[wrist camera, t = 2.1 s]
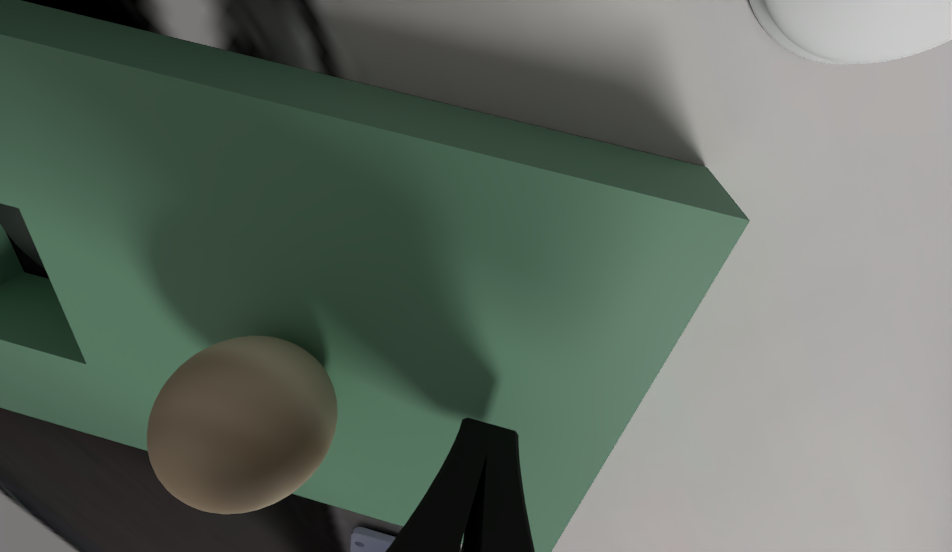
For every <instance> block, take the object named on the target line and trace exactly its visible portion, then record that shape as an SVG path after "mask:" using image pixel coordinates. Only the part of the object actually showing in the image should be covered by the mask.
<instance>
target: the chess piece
mask: <svg viewBox="0 0 952 552" xmlns="http://www.w3.org/2000/svg"><path fill="white" fill-rule="evenodd" d="M749 2H750V5H751V7H752V10H753V12H754V14H755V16H756V18H757V20H758V21H759V23H760V24H761V26H762V27H763V29H764V30H765V31H766V32H767V33H768V35H769V36H770V37H771V38H772V39H773V40H775V41H776V42H777V43H778V44H779V45H781V46H782V47H783V48H785V49H787V50H788V51H790V52H792V53H794V54H796V55H798V56H800V57H803V58H806V59H809V60H812V61H816V62H821V63H828V64H860V63H876V62H884V61H890V60H895V59H900V58H904V57H907V56H911V55H914V54H917V53H920V52H923V51H926V50H929V49H931V48H934V47H936V46H939V45H941V44H943V43H945V42H948V41H950V40H952V0H749Z"/></svg>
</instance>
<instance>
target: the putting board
mask: <svg viewBox="0 0 952 552" xmlns="http://www.w3.org/2000/svg"><path fill="white" fill-rule="evenodd" d="M749 221H750V220H749V219H748V218H747V216H746V215H745V214H744V213H743V212H742V210H741V209H740V208H739V207H738V205H737V204H736V203H735V202H734V200H733V199H732V198H731V197H730V195H729V194H728V193H727V192H726V190H725V189H724V188H723V187H722V185H721V184H720V183H719V182H718V180H717V179H716V178H715V177H714V175H713V174H712V173H711V172H710V171H709V169H708V168H707V167H703V166H699V165H695V164H691V163H687V162H683V161H678V160H674V159H670V158H666V157H662V156H658V155H654V154H650V153H646V152H641V151H637V150H633V149H629V148H625V147H621V146H617V145H613V144H609V143H605V142H600V141H596V140H592V139H588V138H584V137H580V136H576V135H572V134H568V133H563V132H559V131H555V130H551V129H547V128H543V127H539V126H535V125H531V124H527V123H522V122H518V121H514V120H510V119H506V118H502V117H498V116H494V115H490V114H485V113H481V112H477V111H473V110H469V109H465V108H461V107H457V106H453V105H449V104H444V103H440V102H436V101H432V100H428V99H424V98H420V97H416V96H412V95H407V94H403V93H399V92H395V91H391V90H387V89H383V88H379V87H375V86H370V85H366V84H362V83H358V82H354V81H350V80H346V79H342V78H338V77H334V76H329V75H325V74H321V73H317V72H313V71H309V70H305V69H301V68H297V67H292V66H288V65H284V64H280V63H276V62H272V61H268V60H264V59H260V58H256V57H251V56H247V55H243V54H239V53H235V52H231V51H227V50H223V49H219V48H214V47H210V46H206V45H202V44H198V43H194V42H190V41H186V40H182V39H178V38H173V37H169V36H165V35H161V34H157V33H153V32H149V31H145V30H141V29H136V28H132V27H128V26H124V25H120V24H116V23H112V22H108V21H104V20H99V19H95V18H91V17H87V16H83V15H79V14H75V13H71V12H67V11H63V10H58V9H54V8H50V7H46V6H42V5H38V4H34V3H30V2H26V1H21V0H0V407H1V408H4V409H7V410H11V411H14V412H18V413H21V414H24V415H28V416H31V417H34V418H38V419H41V420H45V421H48V422H51V423H55V424H58V425H62V426H65V427H68V428H72V429H75V430H78V431H82V432H85V433H89V434H92V435H95V436H99V437H102V438H105V439H109V440H112V441H116V442H119V443H122V444H126V445H129V446H132V447H136V448H139V449H143V450H146V451H148V450H147V428H148V421H149V416H150V413H151V410H152V407H153V404H154V402H155V400H156V398H157V396H158V394H159V392H160V390H161V389H162V387H163V386H164V384H165V383H166V381H167V380H168V379H169V378H170V376H171V375H172V374H173V373H174V372H175V371H176V370H177V369H178V368H179V367H180V366H181V365H182V364H183V363H185V362H186V361H187V360H188V359H190V358H191V357H192V356H194V355H195V354H197V353H198V352H200V351H202V350H203V349H205V348H208V347H210V346H212V345H214V344H216V343H219V342H222V341H225V340H229V339H232V338H236V337H244V336H269V337H275V338H279V339H282V340H286V341H289V342H291V343H294V344H296V345H298V346H300V347H301V348H303V349H304V350H306V351H307V352H309V353H310V354H311V355H312V356H313V357H315V358H316V359H317V361H318V362H319V363H320V364H321V365H322V366H323V368H324V369H325V370H326V372H327V374H328V375H329V377H330V380H331V382H332V384H333V387H334V390H335V394H336V399H337V412H338V416H337V424H336V431H335V434H334V437H333V441H332V443H331V446H330V448H329V450H328V453H327V455H326V456H325V458H324V459H323V461H322V463H321V464H320V466H319V467H318V469H317V470H316V471H315V472H314V473H313V475H312V476H311V477H310V478H309V479H308V480H307V481H306V482H305V483H304V484H303V485H302V486H300V487H299V488H298V489H297V490H296V491H294V492H293V493H291V494H295V495H298V496H302V497H305V498H308V499H312V500H315V501H318V502H322V503H325V504H329V505H332V506H335V507H339V508H342V509H345V510H349V511H352V512H356V513H359V514H362V515H366V516H369V517H373V518H376V519H379V520H383V521H386V522H389V523H393V524H396V525H400V526H403V527H404V525H405V524H406V522H407V521H408V519H409V518H410V516H411V515H412V514H413V512H414V511H415V509H416V508H417V506H418V505H419V503H420V502H421V500H422V499H423V497H424V495H425V494H426V492H427V490H428V489H429V487H430V485H431V484H432V482H433V480H434V479H435V477H436V475H437V474H438V472H439V470H440V469H441V467H442V465H443V463H444V461H445V459H446V457H447V455H448V454H449V452H450V450H451V447H452V445H453V443H454V441H455V439H456V436H457V434H458V431H459V429H460V426H461V422H462V419H465V418H471V419H475V420H478V421H482V422H486V423H489V424H493V425H496V426H500V427H503V428H507V429H510V430H514V431H516V432H517V434H518V435H519V458H520V468H521V477H522V484H523V491H524V498H525V504H526V509H527V515H528V520H529V525H530V530H531V536H532V540H533V545H534V549H535V552H551V551H552V549H553V548H554V546H555V544H556V543H557V541H558V539H559V538H560V536H561V534H562V533H563V531H564V529H565V528H566V526H567V524H568V523H569V521H570V519H571V518H572V516H573V514H574V513H575V511H576V509H577V508H578V506H579V504H580V503H581V501H582V499H583V498H584V496H585V494H586V493H587V491H588V489H589V488H590V486H591V484H592V483H593V481H594V479H595V478H596V476H597V474H598V473H599V471H600V469H601V468H602V466H603V464H604V463H605V461H606V459H607V458H608V456H609V454H610V453H611V451H612V449H613V448H614V446H615V444H616V443H617V441H618V439H619V438H620V436H621V434H622V433H623V431H624V429H625V428H626V426H627V424H628V423H629V421H630V419H631V418H632V416H633V414H634V413H635V411H636V409H637V408H638V406H639V404H640V403H641V401H642V399H643V398H644V396H645V394H646V393H647V391H648V389H649V388H650V386H651V384H652V383H653V381H654V379H655V378H656V376H657V374H658V373H659V371H660V369H661V368H662V366H663V364H664V363H665V361H666V359H667V358H668V356H669V354H670V353H671V351H672V349H673V348H674V346H675V344H676V343H677V341H678V339H679V338H680V336H681V334H682V333H683V331H684V329H685V328H686V326H687V324H688V323H689V321H690V319H691V318H692V316H693V314H694V313H695V311H696V309H697V308H698V306H699V304H700V303H701V301H702V299H703V298H704V296H705V294H706V293H707V291H708V289H709V288H710V286H711V284H712V283H713V281H714V279H715V278H716V276H717V274H718V273H719V271H720V269H721V268H722V266H723V264H724V263H725V261H726V259H727V258H728V256H729V254H730V253H731V251H732V249H733V248H734V246H735V244H736V243H737V241H738V239H739V238H740V236H741V234H742V233H743V231H744V229H745V228H746V226H747V224H748V223H749ZM5 231H6V232H5ZM6 233H7V234H8V235H9V237H10V238H11V239H12V240H13V241H14V242H15V244H16V245H17V246H18V247H19V248H20V249H21V250H22V251H23V252H24V253H25V254H26V255H27V256H29V257H30V258H31V259H32V260H33V261H34V262H36V263H37V264H38V265H39V266H41V267H42V268H43V269H45V270H46V272H47V274H48V276H49V279H47V278H44V277H40V276H36V275H33V274H29V273H26V272H24V270H23V268H22V266H21V264H20V261H19V259H18V257H17V255H16V253H15V251H14V249H13V247H12V244H11V242H10V240H9V238H8V236H7V234H6ZM463 537H464V534H463ZM461 544H463V538H462V541H461Z"/></svg>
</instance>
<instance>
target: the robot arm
mask: <svg viewBox="0 0 952 552" xmlns="http://www.w3.org/2000/svg"><path fill="white" fill-rule="evenodd" d="M463 534H464V537H463ZM462 538H463V544H462V552H535V549H534V545H533V540H532V536H531V530H530V525H529V520H528V515H527V509H526V504H525V498H524V491H523V484H522V477H521V468H520V458H519V435H518V434H517V432H516V431H514V430H510V429H507V428H503V427H500V426H496V425H493V424H489V423H486V422H482V421H478V420H475V419H471V418H465V419H462V422H461V426H460V429H459V431H458V434H457V436H456V439H455V441H454V443H453V445H452V447H451V450H450V452H449V454H448V455H447V457H446V459H445V461H444V463H443V465H442V467H441V469H440V470H439V472H438V474H437V475H436V477H435V479H434V480H433V482H432V484H431V485H430V487H429V489H428V490H427V492H426V494H425V495H424V497H423V499H422V500H421V502H420V503H419V505H418V506H417V508H416V509H415V511H414V512H413V514H412V515H411V516H410V518H409V519H408V521H407V522H406V524H405V525H404V527H403V528H402V530H401V531H400V533H399V534H398V535H397V537H394V536H391V535H387V534H384V533H380V532H377V531H374V530H370V529H367V528H364V527H356V528H354V530H353V532H352V535H351V543H350V552H459V550H460V546H461V541H462Z"/></svg>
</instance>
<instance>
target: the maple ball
mask: <svg viewBox="0 0 952 552" xmlns="http://www.w3.org/2000/svg"><path fill="white" fill-rule="evenodd" d="M337 416H338V412H337V399H336V394H335V390H334V387H333V384H332V382H331V380H330V377H329V375H328V374H327V372H326V370H325V369H324V368H323V366H322V365H321V364H320V363H319V362H318V361H317V359H316V358H315V357H313V356H312V355H311V354H310V353H309V352H307V351H306V350H304V349H303V348H301V347H300V346H298V345H296V344H294V343H291V342H289V341H286V340H282V339H279V338H275V337H269V336H244V337H236V338H232V339H229V340H225V341H222V342H219V343H216V344H214V345H212V346H210V347H208V348H205V349H203V350H202V351H200V352H198V353H197V354H195V355H194V356H192V357H191V358H190V359H188V360H187V361H186V362H185V363H183V364H182V365H181V366H180V367H179V368H178V369H177V370H176V371H175V372H174V373H173V374H172V375H171V376H170V378H169V379H168V380H167V381H166V383H165V384H164V386H163V387H162V389H161V390H160V392H159V394H158V396H157V398H156V400H155V402H154V404H153V407H152V410H151V413H150V416H149V421H148V428H147V450H148V454H149V459H150V462H151V465H152V467H153V469H154V472H155V474H156V476H157V477H158V479H159V480H160V482H161V483H162V484H163V485H164V487H165V488H166V489H167V490H168V491H169V492H170V493H171V494H172V495H173V496H175V497H176V498H177V499H179V500H180V501H182V502H184V503H185V504H187V505H189V506H191V507H194V508H196V509H199V510H202V511H206V512H211V513H219V514H236V513H245V512H250V511H254V510H259V509H261V508H264V507H267V506H269V505H272V504H274V503H276V502H278V501H280V500H282V499H284V498H285V497H287V496H289V495H290V494H291V493H293V492H294V491H296V490H297V489H298V488H299V487H300V486H302V485H303V484H304V483H305V482H306V481H307V480H308V479H309V478H310V477H311V476H312V475H313V473H314V472H315V471H316V470H317V469H318V467H319V466H320V464H321V463H322V461H323V459H324V458H325V456H326V455H327V453H328V450H329V448H330V446H331V443H332V441H333V437H334V434H335V431H336V424H337Z"/></svg>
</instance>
